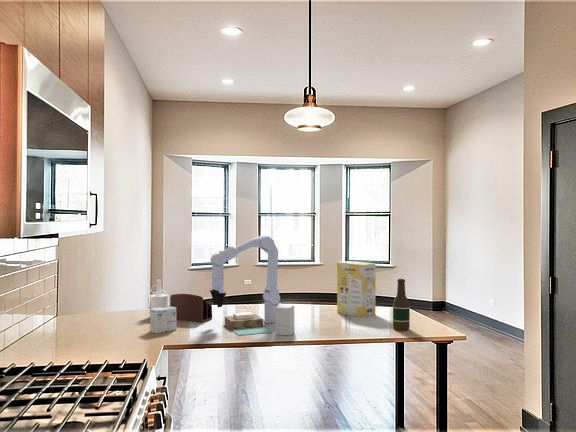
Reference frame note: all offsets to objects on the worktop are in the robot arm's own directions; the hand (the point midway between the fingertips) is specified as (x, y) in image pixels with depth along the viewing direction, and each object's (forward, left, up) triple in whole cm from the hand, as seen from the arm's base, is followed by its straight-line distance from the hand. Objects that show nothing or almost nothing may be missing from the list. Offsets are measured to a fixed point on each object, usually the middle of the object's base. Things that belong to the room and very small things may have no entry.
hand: (217, 305), depth 247 cm
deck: (-12, +4, -10) cm, 16 cm away
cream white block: (-12, +4, -6) cm, 14 cm away
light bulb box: (+26, -1, -10) cm, 28 cm away
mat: (-12, +17, -10) cm, 23 cm away
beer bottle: (-79, +40, -10) cm, 89 cm away
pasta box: (-78, -1, -10) cm, 79 cm away
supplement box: (-25, +26, -10) cm, 38 cm away
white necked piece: (+23, -34, -10) cm, 42 cm away
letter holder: (+9, -21, -10) cm, 25 cm away
